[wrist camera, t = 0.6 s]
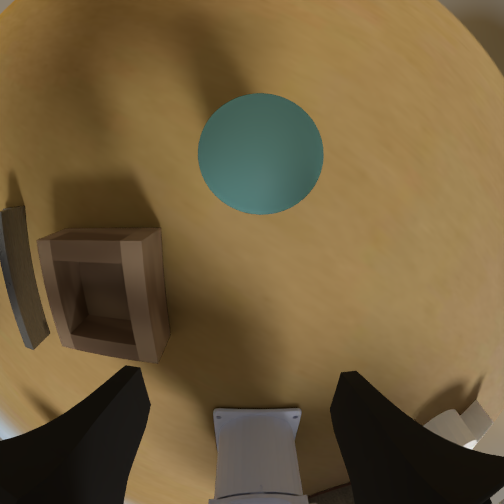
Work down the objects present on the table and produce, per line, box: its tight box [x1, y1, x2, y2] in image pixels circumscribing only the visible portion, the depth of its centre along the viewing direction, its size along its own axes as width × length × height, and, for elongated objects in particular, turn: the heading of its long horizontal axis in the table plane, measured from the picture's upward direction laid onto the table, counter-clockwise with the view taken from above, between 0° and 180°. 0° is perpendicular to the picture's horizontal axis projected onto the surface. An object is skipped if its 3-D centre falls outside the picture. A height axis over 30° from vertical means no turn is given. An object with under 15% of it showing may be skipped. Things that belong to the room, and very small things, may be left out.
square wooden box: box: [37, 228, 170, 364], centre depth 16 cm, size 8×8×4 cm
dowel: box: [198, 93, 323, 215], centre depth 12 cm, size 4×4×9 cm
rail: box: [0, 206, 50, 350], centre depth 16 cm, size 12×3×3 cm, turn 178°
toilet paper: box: [423, 400, 494, 450], centre depth 22 cm, size 8×11×7 cm
